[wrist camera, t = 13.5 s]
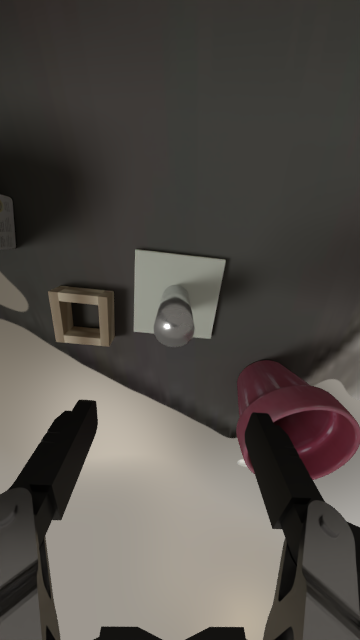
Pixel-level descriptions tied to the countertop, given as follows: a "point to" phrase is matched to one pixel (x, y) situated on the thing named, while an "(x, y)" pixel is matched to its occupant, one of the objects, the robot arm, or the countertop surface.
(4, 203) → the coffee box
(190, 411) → the countertop surface
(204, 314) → the sage mat
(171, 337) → the metal peg
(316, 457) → the plant pot
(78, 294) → the wood collar
